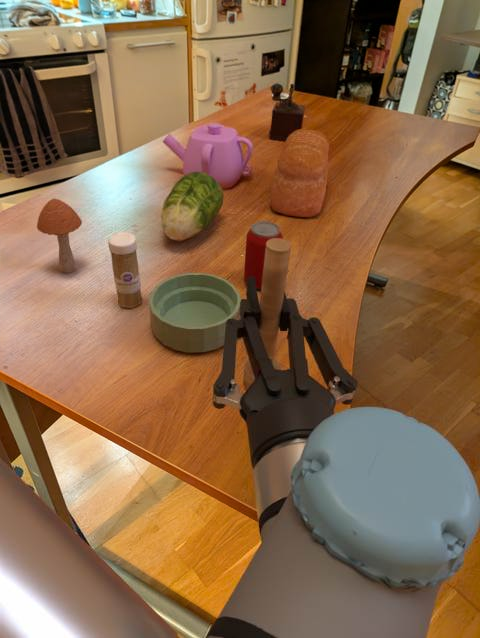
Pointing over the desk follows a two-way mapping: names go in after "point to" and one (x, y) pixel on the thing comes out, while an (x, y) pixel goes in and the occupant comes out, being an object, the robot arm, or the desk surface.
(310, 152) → the bread
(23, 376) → the desk surface
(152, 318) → the bowl
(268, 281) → the wooden pestle
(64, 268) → the mushroom
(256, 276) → the beverage can
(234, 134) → the teapot
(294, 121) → the coffee grinder
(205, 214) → the lettuce
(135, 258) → the sprinkles bottle
